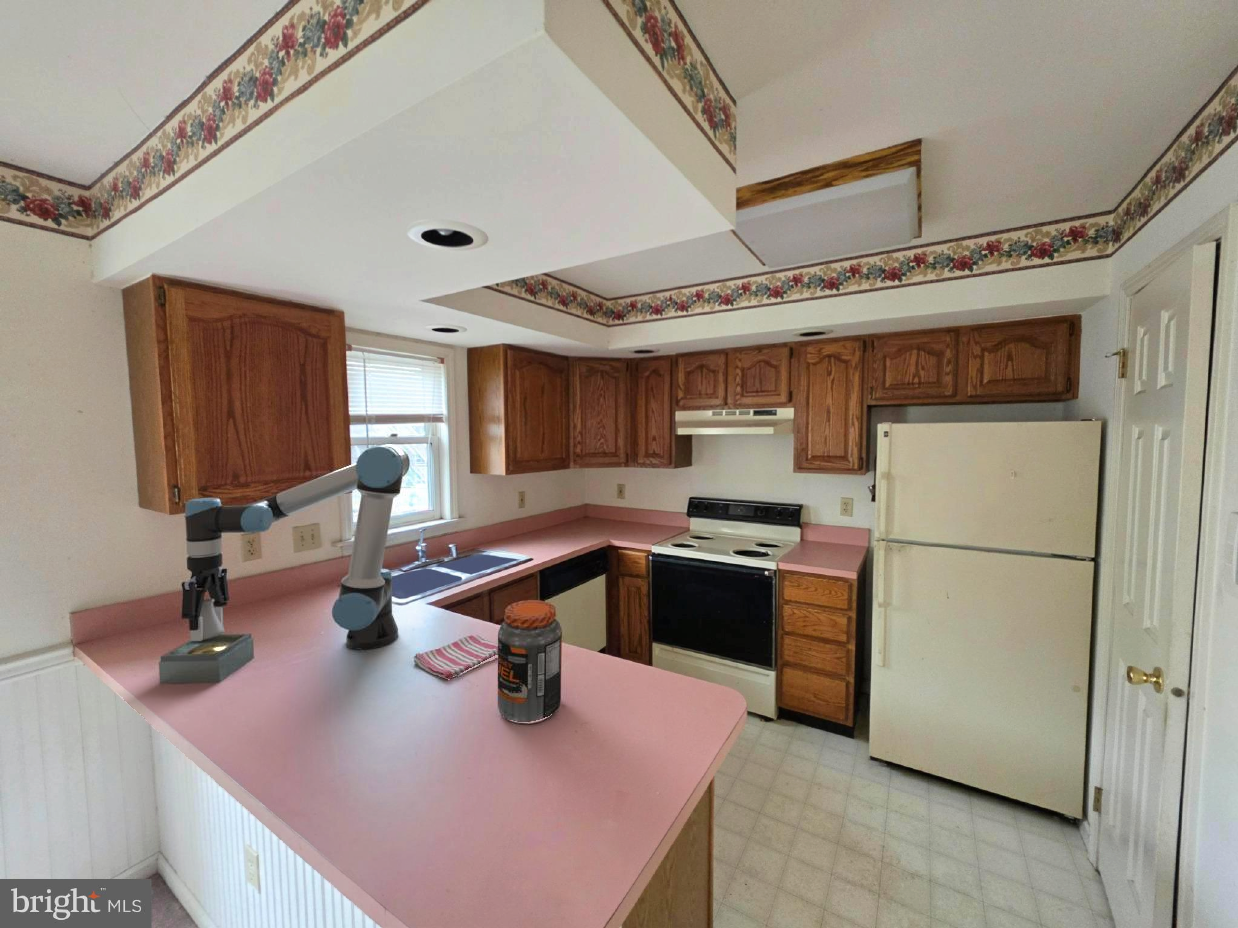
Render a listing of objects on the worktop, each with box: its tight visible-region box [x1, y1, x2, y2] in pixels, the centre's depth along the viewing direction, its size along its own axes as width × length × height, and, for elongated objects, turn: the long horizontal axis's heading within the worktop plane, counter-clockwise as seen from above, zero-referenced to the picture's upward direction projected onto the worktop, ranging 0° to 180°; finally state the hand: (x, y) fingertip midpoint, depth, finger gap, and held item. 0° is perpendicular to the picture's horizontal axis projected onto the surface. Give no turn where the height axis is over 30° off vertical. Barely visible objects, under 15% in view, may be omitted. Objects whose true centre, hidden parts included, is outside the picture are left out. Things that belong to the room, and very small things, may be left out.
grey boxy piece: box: [158, 632, 255, 685], centre depth 137 cm, size 15×14×8 cm
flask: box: [200, 598, 226, 639], centre depth 137 cm, size 7×7×10 cm
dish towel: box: [413, 634, 498, 680], centre depth 148 cm, size 17×23×4 cm
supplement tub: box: [497, 599, 563, 722], centre depth 122 cm, size 16×16×26 cm
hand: (207, 634), depth 137 cm, fingers closed on flask, 7 cm apart
